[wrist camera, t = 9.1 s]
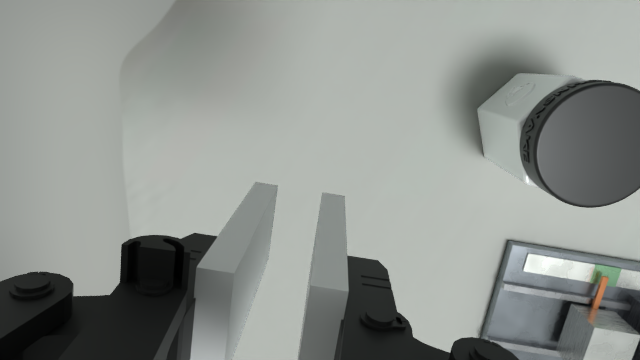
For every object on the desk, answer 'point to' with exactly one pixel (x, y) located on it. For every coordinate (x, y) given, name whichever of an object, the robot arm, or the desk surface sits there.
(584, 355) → the block
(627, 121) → the jar
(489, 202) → the desk surface
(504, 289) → the bench
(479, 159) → the desk surface
